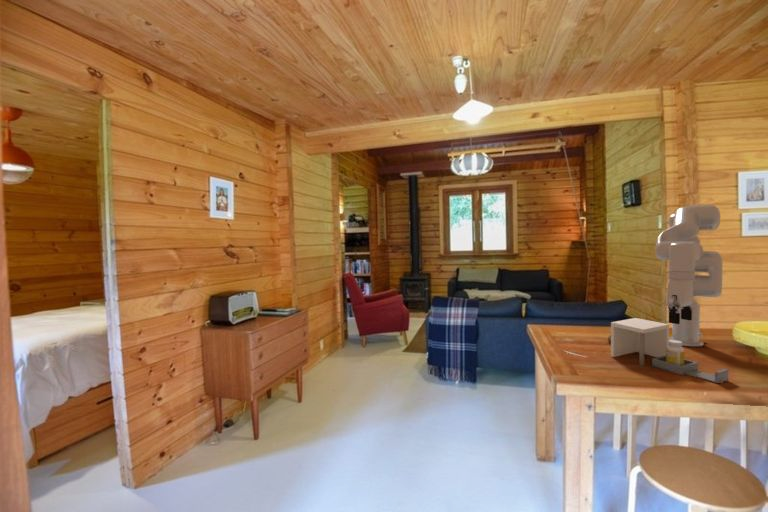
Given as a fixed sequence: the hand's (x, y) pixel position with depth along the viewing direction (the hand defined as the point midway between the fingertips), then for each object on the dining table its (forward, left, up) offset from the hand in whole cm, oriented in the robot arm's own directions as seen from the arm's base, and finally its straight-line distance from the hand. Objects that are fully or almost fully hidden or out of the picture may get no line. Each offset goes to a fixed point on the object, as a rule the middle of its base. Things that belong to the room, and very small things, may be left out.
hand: (680, 321), depth 135 cm
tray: (0, +3, -18) cm, 19 cm away
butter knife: (+17, -24, -19) cm, 35 cm away
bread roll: (-11, -30, -19) cm, 37 cm away
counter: (0, -15, -18) cm, 23 cm away
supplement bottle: (0, -2, -18) cm, 18 cm away
